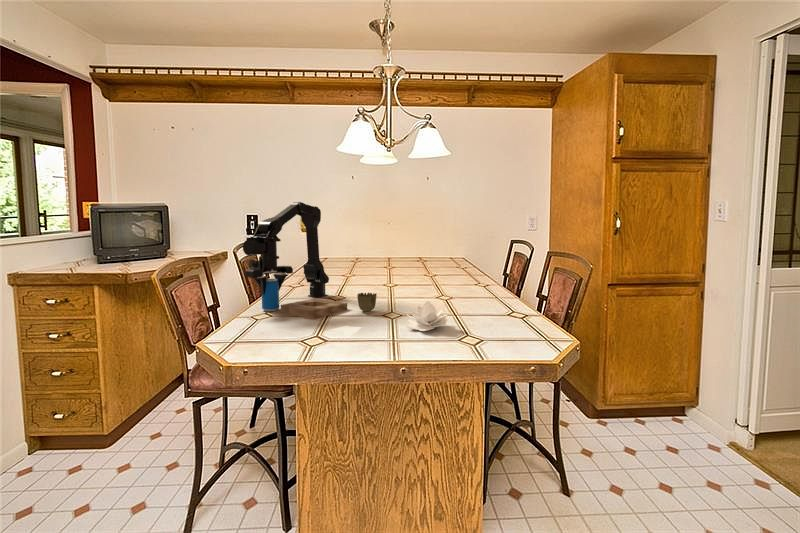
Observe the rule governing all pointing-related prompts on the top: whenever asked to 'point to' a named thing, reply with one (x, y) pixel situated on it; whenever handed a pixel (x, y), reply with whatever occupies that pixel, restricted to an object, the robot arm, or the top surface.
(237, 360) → the top surface
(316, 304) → the can holder
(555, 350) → the top surface
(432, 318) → the lotus flower
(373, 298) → the cup
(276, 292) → the beverage can
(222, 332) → the top surface
